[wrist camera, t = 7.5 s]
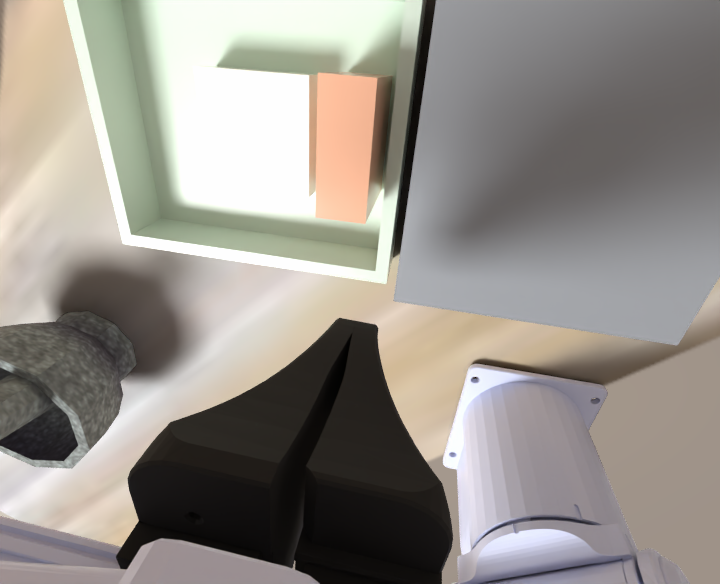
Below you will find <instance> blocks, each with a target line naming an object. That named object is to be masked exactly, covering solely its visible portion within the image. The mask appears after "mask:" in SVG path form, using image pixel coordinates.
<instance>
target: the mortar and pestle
mask: <svg viewBox="0 0 720 584" xmlns="http://www.w3.org/2000/svg"><path fill="white" fill-rule="evenodd" d="M136 365H137V364H136V359H135V354H134V349H133V344H132V343H131V342H130V341H129V340H128V338H127V337H126V336H125V335H124V334H123V333H122V332H121V331H120V329H119V328H118V327H117V326H116V325H115V324H114V323H112V322H110V321H108V320H106V319H104V318H102V317H100V316H98V315H96V314H93V313H91V312H89V311H84V312H69V313H66V314H64V315H63V316H62V317H60V318H59V319H58V320H57V321H56V322H47V323H31V324H19V325H11V326H3V327H0V451H1V452H3V453H5V454H7V455H10V456H12V457H14V458H16V459H19V460H21V461H23V462H26V463H28V464H30V465H32V466H35V467H51V468H73V467H74V466H75V465H76V464H77V463H78V462H79V461H80V460H81V459H82V458H83V457H84V456H85V455H86V454H87V453H88V451H89V450H90V449H91V448H92V447H93V446H94V445H95V444H96V443H97V442H98V441H99V440H100V438H101V437H102V436H103V435H104V434H105V433H106V431H107V430H108V429H109V427H110V426H111V424H112V423H113V421H114V420H115V418H116V417H117V415H118V414H119V410H120V405H121V401H122V396H123V392H122V387H121V383H120V381H121V380H123V379H124V378H125V377H126V376H127V375H128V374H129V373H130V371H131V370H132V369H133V368H134V367H135V366H136Z"/></svg>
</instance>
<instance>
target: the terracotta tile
mask: <svg viewBox="0 0 720 584" xmlns="http://www.w3.org/2000/svg"><path fill="white" fill-rule="evenodd" d="M392 79H393V76H391V75H380V74H368V73H356V72H322V73H318V82H317V147H316V212H315V217H316V218H323V219H331V220H339V221H346V222H354V223H362V224H366V222H367V219H368V217H369V215H370V213H371V211H372V209H373V207H374V205H375V203H376V200H377V198H378V196H379V194H380V192H381V189H382V179H383V169H384V159H385V149H386V139H387V129H388V119H389V109H390V99H391V89H392Z"/></svg>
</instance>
